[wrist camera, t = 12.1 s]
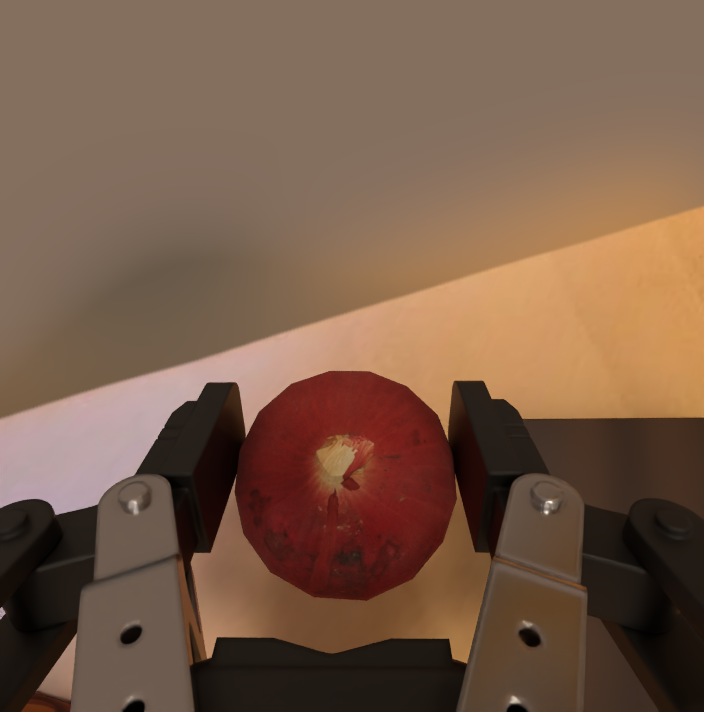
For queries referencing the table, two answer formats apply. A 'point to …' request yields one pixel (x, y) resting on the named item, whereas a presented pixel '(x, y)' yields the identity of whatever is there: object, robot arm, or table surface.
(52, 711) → the candy box
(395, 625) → the table surface
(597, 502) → the walnut board
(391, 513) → the onion
